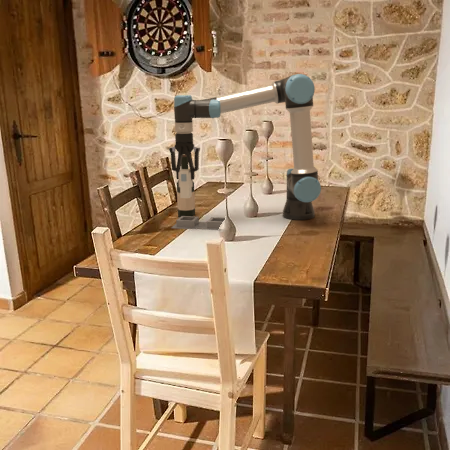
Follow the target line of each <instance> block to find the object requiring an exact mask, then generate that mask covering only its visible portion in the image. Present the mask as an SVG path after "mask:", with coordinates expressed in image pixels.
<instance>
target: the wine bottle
mask: <svg viewBox="0 0 450 450" xmlns="http://www.w3.org/2000/svg"><path fill="white" fill-rule="evenodd" d="M182 169H189V163H188V158H187V156H186V155H185V154H183V156H182V162H181V168H180V170H182ZM192 181H193V187H192V197H190V198H180V187H179V179H177V181H176V199H177V201H176V202H177V218H178V219H179V218H180V217H181V216H194V217H195V215H196V197H195V182H194V180H192Z"/></svg>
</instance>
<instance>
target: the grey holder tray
mask: <svg viewBox="0 0 450 450" xmlns="http://www.w3.org/2000/svg"><path fill="white" fill-rule="evenodd" d="M225 218H226V217H215V216H214V217H213V216H211V217H210V218H209V219H208V220H207V221H200V220H199V216H195V215H194V216H181V217H180V218H179V217H178V218H177V219H176V220H175V221H176V223H175V224H174V225H172V226H171V227H170V228H171V229H177V230H178V229H182V230H183V229H184V230H205V231H206V230H207V231H209V230H210V231H219V230H218V229H219V227H220V225H221V224H222V222H223V221H224V220H225Z"/></svg>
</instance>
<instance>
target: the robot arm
mask: <svg viewBox="0 0 450 450" xmlns="http://www.w3.org/2000/svg"><path fill="white" fill-rule="evenodd" d="M315 90H316V89H315V83H314V82H313V80H312V79H311V78H310V77H309V76H308V75H306V74H303V73H297V74H292V75H289V76H287V77H285V78H282V79H280V80H276V81H272V83H271V84H269V85H268V84H267V85H264V86H259V87H254V88H250V89H246V90H241V91H238V92H232V93H228V94H223V95H219V96H215V97H210V98H204V99H193V97H192V95H186V94H184V95H182V94H181V95H180V94H179V95H175V96H174V97H173V99H174V100H173V110H174V111H173V112H174V114H173V115H174V132H175V134H174V135H175V137H174V138H175V141H174V142H175V144H174V146H172V147H169V148H168V150H169V154H170V162H171V163H170V164H171V170H172V172H173V171H174V172H175V173H176V175H175V176H176V177H175V178H176V180H179V187H180V173H179V171H180V170H181V162H182V156H183V155H186V156H187V158H188V168H189V169H190V172H189V188H191V187H193V182H194V180H195V177H196V176H195V172H197V171H199V169H200V168H199V166H200V165H199V163H200V161H199V159H200V158H199V157H200V155H199V153H200V151H201V147H197V146H195V144H194V134H193V132H194V128H193V119H217V118H218V119H219V118H220V117H221V114H224V113H225V114H226V113H229V112H234V111H238V110H243V109H248V108H252V107H257V106H261V105H266V104H271V103H275V104H281V103H284V105H285V110H287V112H288V113H289V122H290V132H291V133H290V134H291V147H292V158H293V168H287V171H286V200H285V204H284V206H283V209H282V217H283V218H284V219H288V220H295V221H302V220H303V221H305V220H310V219H313V218H315V213H316V212H315V209H314V205H313V202H314V201H316V200H317V199H318V198H319V196H320V194H321V192H322V187H321V186H322V185H321V183H320V182H321V181H320V180H319V174H318V173H319V172H318V170H319V169H317V167H315V165H314V152H313V150H314V149H313V137H312V120H311V110H312V108H313V107H314V94H315ZM192 151H193V152H194V157H192V155H193V154H192ZM176 152H177V161H176ZM193 158H194V160H193ZM193 161H194V162H193ZM192 180H193V181H192Z"/></svg>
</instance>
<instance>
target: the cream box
mask: <svg viewBox="0 0 450 450" xmlns="http://www.w3.org/2000/svg"><path fill="white" fill-rule="evenodd" d="M189 172H190V168H188V169H182V170H181V169H180V171H179V173H180V198H190V197H192V187H191V188H189Z"/></svg>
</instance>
